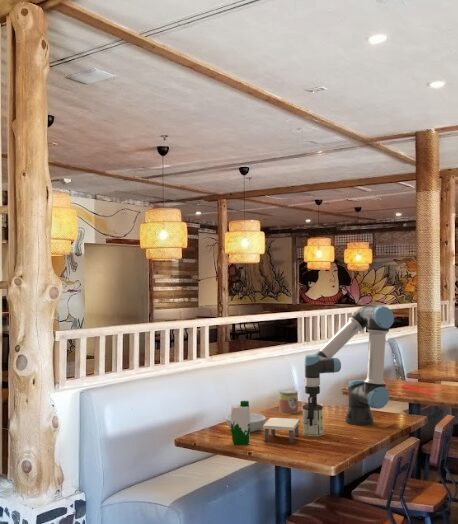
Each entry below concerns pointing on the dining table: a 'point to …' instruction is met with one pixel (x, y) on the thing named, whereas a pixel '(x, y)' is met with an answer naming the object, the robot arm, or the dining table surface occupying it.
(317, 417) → the coffee can
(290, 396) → the canned food
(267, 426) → the peg stand
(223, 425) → the dining table surface
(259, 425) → the serving bowl
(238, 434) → the milk carton
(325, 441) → the dining table surface
